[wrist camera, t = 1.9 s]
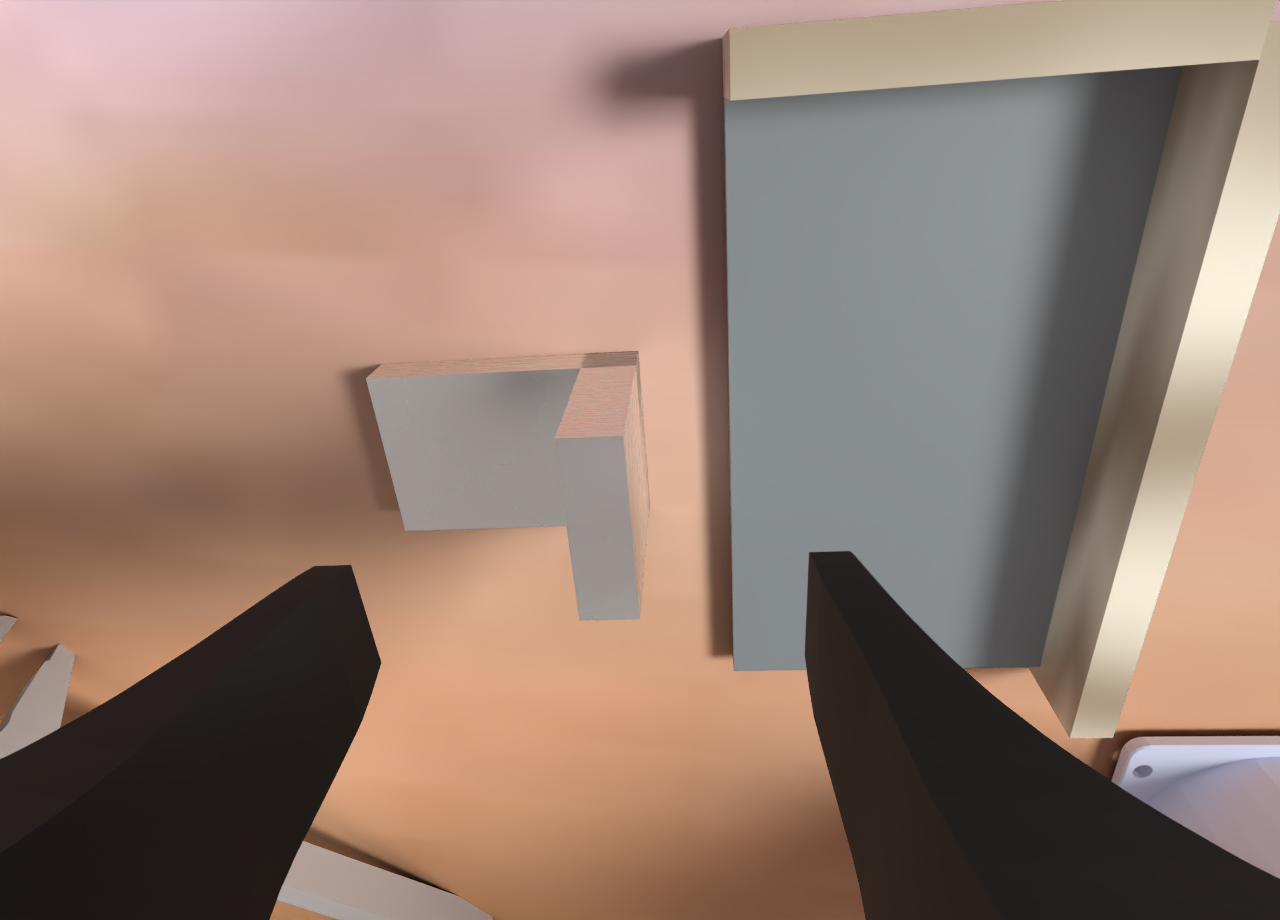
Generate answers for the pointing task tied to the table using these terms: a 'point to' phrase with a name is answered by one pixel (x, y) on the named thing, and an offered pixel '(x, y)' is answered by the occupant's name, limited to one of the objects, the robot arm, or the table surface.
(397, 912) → the caliper
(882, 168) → the board
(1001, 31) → the side wall
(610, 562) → the bracket
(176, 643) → the table surface
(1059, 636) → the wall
